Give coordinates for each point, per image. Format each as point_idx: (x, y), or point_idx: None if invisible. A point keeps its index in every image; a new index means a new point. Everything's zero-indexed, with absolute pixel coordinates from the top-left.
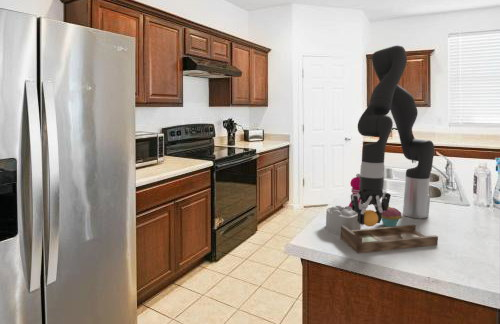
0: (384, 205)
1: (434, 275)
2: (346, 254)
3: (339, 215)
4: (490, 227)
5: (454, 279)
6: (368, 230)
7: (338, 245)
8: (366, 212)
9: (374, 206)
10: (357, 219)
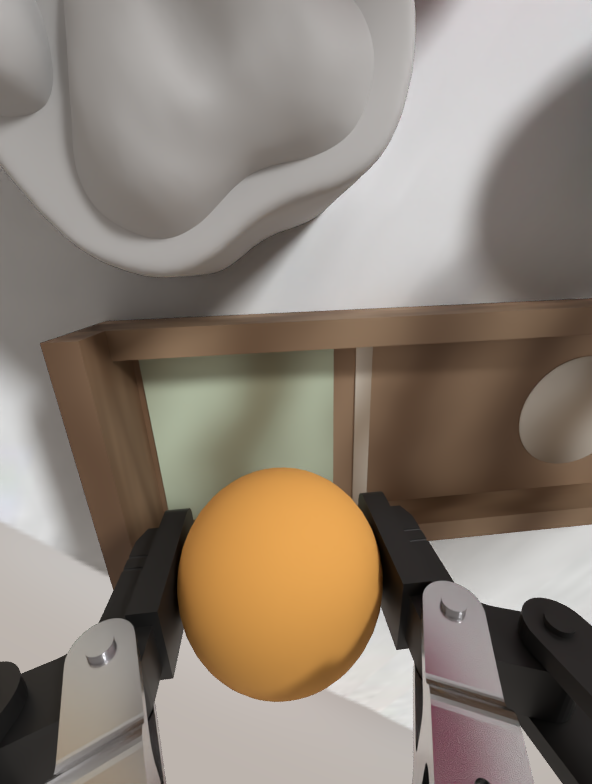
0: (564, 770)
1: (365, 689)
2: (80, 532)
3: (3, 142)
4: None
5: (407, 707)
6: (336, 348)
7: (61, 420)
8: (217, 675)
9: (424, 671)
10: (133, 550)
